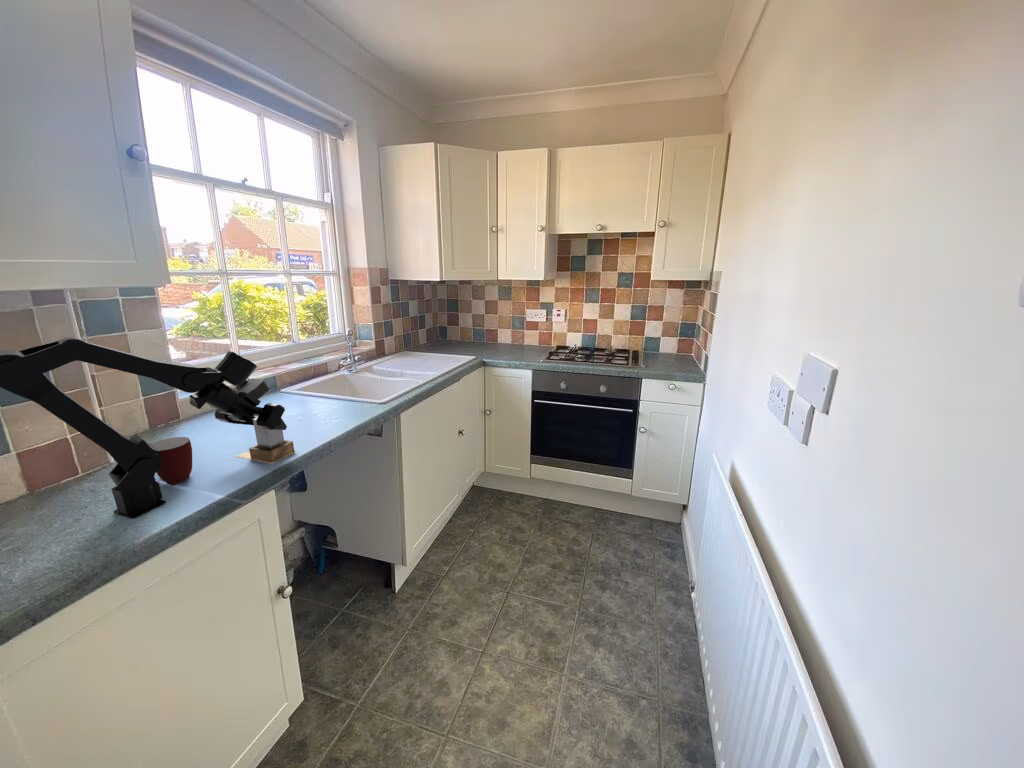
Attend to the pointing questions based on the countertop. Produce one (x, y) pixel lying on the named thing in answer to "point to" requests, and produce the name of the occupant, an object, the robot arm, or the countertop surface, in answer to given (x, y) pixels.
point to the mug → (174, 459)
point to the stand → (268, 453)
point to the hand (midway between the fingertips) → (272, 426)
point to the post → (268, 437)
